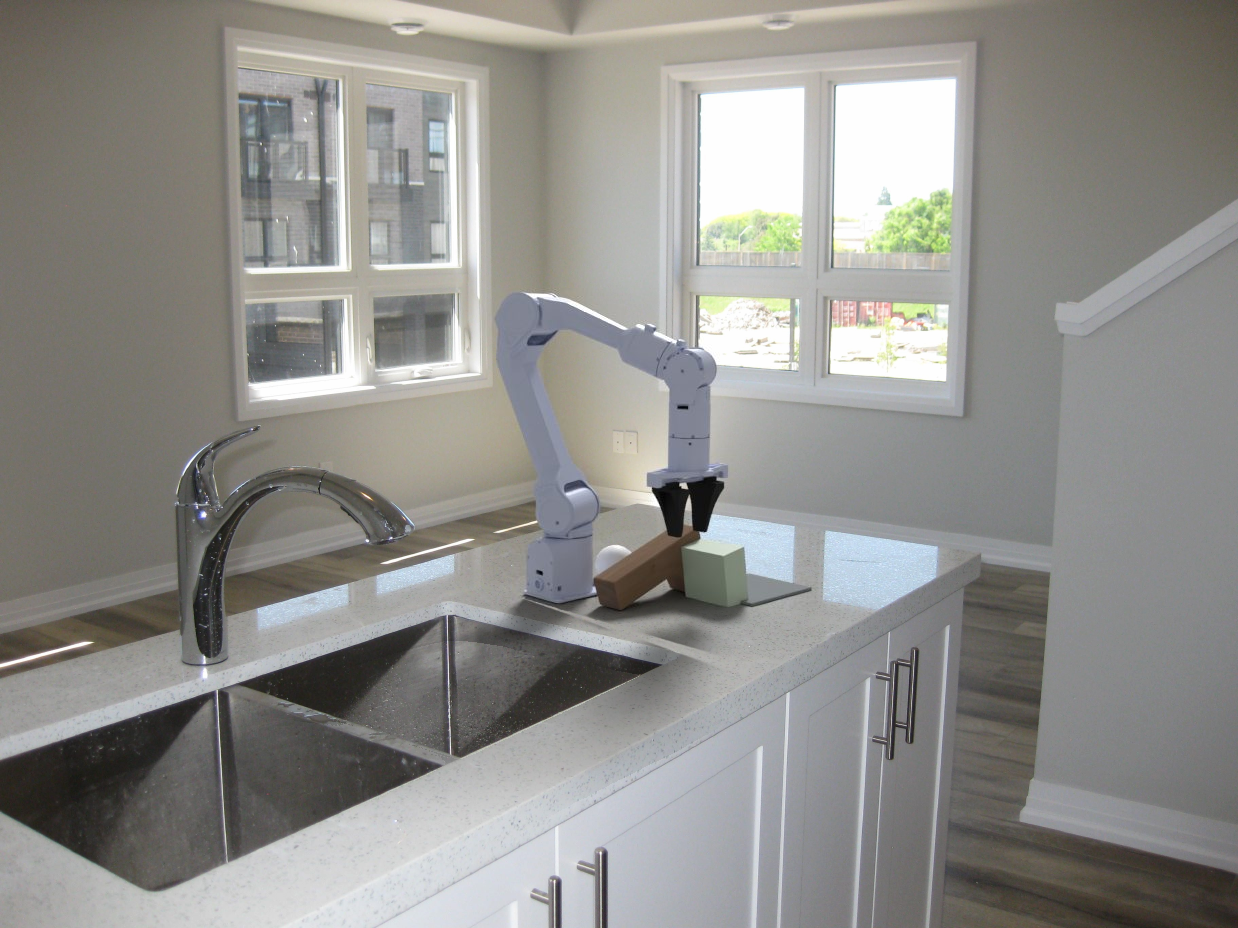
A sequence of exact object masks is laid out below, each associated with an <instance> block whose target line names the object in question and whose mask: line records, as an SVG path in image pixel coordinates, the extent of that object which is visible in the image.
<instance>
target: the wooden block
mask: <svg viewBox="0 0 1238 928" xmlns="http://www.w3.org/2000/svg"><path fill="white" fill-rule="evenodd" d="M701 538H702V537H701V532H698V531H693V526H692V525H688V524H684V526H683V533H682V537H679V538H677V537H672V536H668V534H667V529H666V530H664V531H663V532H661V533H660V534H659V535H657V536H655V537H654V538H652V539H651V540H649V541H648V542H646V543H644V544H643V545H641V546H640V547H639V548H637V549H635V550H634V551H632V552H631V554H629V555H628V556H626V557H625V558H623V559H621V560H620V561H618V562H617V563H615V564H614V565H612V566H611V567H609V568H608V569H606V570H605V571H603V572H601V573H600V574H598V575H597V574H596V575H595V576H593V585H594V587H595V588H596V592H597V595H596V596H597V599H598V602H599V604H600V606H603V607H607V608H610V609H614V610H617V611H623V610H624V609H626V608H627V607H629V606H630V605H632V604H633V603H635V601H637V600H639V599H641V598H642V597H643V596H644V595H646V594H647V593H649V592H650V591H651V590H653V589H655V588H656V587H657V586H659V585H660V584H662V583H663V582H665V581H667V583H668V587H669V588H670V589H672V590H676V591H680V592H683V593H685V583H684V572H683V562H682V552H681V547H682V546H685V545H687V544H689V543H692V542H694V541H696V540H699V539H701Z"/></svg>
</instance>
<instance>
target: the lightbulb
mask: <svg viewBox="0 0 1238 928" xmlns="http://www.w3.org/2000/svg"><path fill="white" fill-rule="evenodd" d="M631 553H632V552H631V551H630V550H629V549H628V548H627V547H625V546H622V545H619V544H612V545H609V546H605V547H604V548H603V549H601V550H600V551H599V552H598V554H597V556H596V557H595V562H594V563H595V564H594V570H595V572H596V576H597V575H598V574H600V573H601V572H603V571H605V570H606V569H608V568H609V567H611V566H612V565H614V564H615V563H617V562H618V561H620V560H621V559H623V558H625V557H626V556H628V555H629V554H631Z"/></svg>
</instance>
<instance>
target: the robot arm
mask: <svg viewBox="0 0 1238 928" xmlns="http://www.w3.org/2000/svg"><path fill="white" fill-rule="evenodd" d="M493 320H494V321H495V324H496V328H497V339H496V340H497V342H496V356H495V357H496V358H495V360H496V364H497V368H498V370H499V373H500V375H501V379H502V382H503V385H504V387H505V389H506V392H507V395H508V398H509V401H510V404H511V407H512V410H513V412H514V415H515V417H516V421H517V423H518V425H519V428H520V431H521V434H522V437H523V440H524V442H525V445H526V447H527V451H528V455H529V456H530V459H531V462H532V464H533V467H534V470H535V473H536V480H535V483H534V485H533V489H532V494H533V497H534V499H535V500H534V501H535V512H534V513H535V518H536V522H537V524H538V526H539V527H540V529H541V530H542V531H543V534H542V535H541V536H540V537H539V538H537V539H534V540H532V541H531V542H530V543H529V545H528V547H527V550H526V589H524V590H522V593H523V594H524V595H527V596H530V597H534V598H537V599H540V600H544V601H548V602H551V603H555V604H562V603H566V602H571V601H576V600H579V599H583V598H589V597H593V596H597V592H596V588H595V585H594V581H593V578H594V527H593V526H594V525H593V523H594V522H595V521H596V520H598V519H597V518H598V517H599V516H600V512H601V500H600V496H599V494H598V493H597V491H596V490H595V489H594V488H593V487H592V486H591V485H590V484H589V482H588V481H587V478H586V474H585V473H584V472H583V471H582V470H581V469H580V468H579V467H577V466H576V465H575V464H574V463H573V461H572V459H571V455H570V453H569V449H568V447H567V443H566V442H565V439H564V436H563V434H562V430H561V427H560V425H559V423H558V420H557V417H556V415H555V412H554V408H553V404H552V403H551V401H550V397H549V395H548V392H547V389H546V387H545V384H544V381H543V379H542V378H543V377H542V375H541V372H540V370H539V367H538V364H537V362H538V360H539V358H540V356H541V355H542V353H543V350H544V348H545V347H546V345H548V344H549V342H551V341H552V339H553V338H554V337H556V335H557V334H558V333H559V332H560V331H568V330H569V331H572V332H575V333H577V334H579V335H581V336H584V337H587V338H589V339H592V340H594V341H596V342H598V343H601V344H603V345H606V346H608V347H610V348H613V349H616V350H617V352H618V354H619V357H620V359H621V361H622V362H623V363H625V364H626V365H628V366H631V367H634V368H635V369H638V370H639V371H642V372H644V373H646V374H648V375H651V376H652V377H654V378H657V379H659V380H661V381H663V382H664V383H665V385H666V386H667V388H668V390H669V392H668V393H669V394H668V396H669V399H668V400H669V401H668V440H667V441H668V444H667V467H663V468H660V469H658V470H654V471H653V470H652V471H649V472H648V471H647V472H646V487H650V488H651V492H652V494H653V496H654V497H655V499H656V501H657V503H658V505H659V507H660V511H661V513H662V518H663V520H664V524H665V525H664V526H665V528H666V530H667V534H668V536H672V537H677V538H679V537H682V533H683V526H684V525H685V524H684V522H685V513H686V506H687V503H688V499H690V506H691V526H693V531H698V532H700V533H708V529H709V526H710V521H711V518H712V515H713V511H714V509H715V506H716V503H717V501H718V499H719V498H720V495H721V494H722V492H723V491H724V489H725V482H724V481H722V480H718V479H727V478H729V464H728V463H721V462H715V463H714V462H713V463H710V457H711V455H710V449H711V448H710V447H711V407H712V406H711V387H712V386H711V384H712V383H713V382H714V380H715V378H716V376H717V371H718V367H717V363H716V360H715V358H714V356H713V355H712V354H711V353H709V352H708V351H707V350H705V349H704V348H703V347H702V346H693V347H689V348H687V341H686V340H684V339H682V338H678V339H677V340H675V339H674V338H672V337H669V336H667V335H664V334H662V333H660V332H658V331H657V329H658V327H657V326H655V325H654V324H651V323H646V324H645V325H642V324H636V325H634V326H632V327H630V328H627V327H625V326H624V325H622V324H619V323H618V322H616V321H614V320H612V319H610V318H607V317H606V316H603V315H601V314H600V313H598V312H596V311H594V310H592V309H589V308H588V307H586V306H584V305H582V304H580V303H578V302H576V301H574V300H572V299H569V298H566V297H561V296H557V295H556V294H554V293H551V292H541V293H532V292H531V293H530V292H528V293H527V292H523V291H516V292H512V293H509V294H508V295H507V296H505V298H504V299H503V300H502V302H501V303H500V306H499V308H498V310H497V311H496V314H495V315H494V318H493ZM680 484H686V486H687V488H683V487H682V485H680Z"/></svg>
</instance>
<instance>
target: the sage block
mask: <svg viewBox="0 0 1238 928" xmlns="http://www.w3.org/2000/svg"><path fill="white" fill-rule="evenodd" d="M681 552H682V562H683V572H684V583H685V592H684V593H685V597H686V598H688V599H689V598H690V599H693V600H697V601H702V602H705V603H709V604H713V605H718V606H721V607H725V608H731V607H735V606H739V605H742V604H741V601H742V600H746V599H748V587H747V575H746V574H747V566H746V565H747V564H746V551H745V546H743V545H739V544H738V545H737V544H734V543H733V544H732V543H729V542H728V543H727V542H722V541H720V540H719V541H718V540H712V539H708V538H703V537H701V539H699V540H696V541H694V542H692V543H689V544H687V545H685V546H682V547H681Z"/></svg>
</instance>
